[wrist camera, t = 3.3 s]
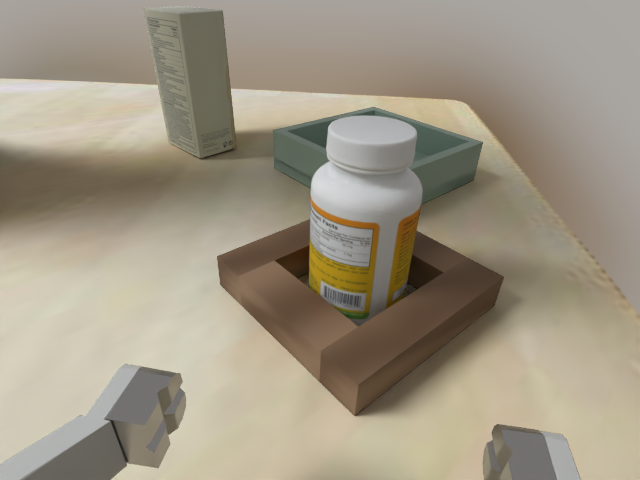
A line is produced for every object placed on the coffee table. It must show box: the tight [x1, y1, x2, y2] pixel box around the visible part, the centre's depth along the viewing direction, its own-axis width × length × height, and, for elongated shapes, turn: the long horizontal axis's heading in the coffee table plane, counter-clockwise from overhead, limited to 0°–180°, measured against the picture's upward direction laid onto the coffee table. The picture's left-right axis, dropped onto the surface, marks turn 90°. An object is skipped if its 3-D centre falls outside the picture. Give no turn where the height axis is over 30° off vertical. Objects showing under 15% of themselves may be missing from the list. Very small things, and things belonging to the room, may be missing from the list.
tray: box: [274, 107, 483, 204], centre depth 37 cm, size 13×13×4 cm
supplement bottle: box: [309, 116, 423, 326], centre depth 22 cm, size 5×5×10 cm
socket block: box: [217, 220, 504, 416], centre depth 24 cm, size 11×11×2 cm
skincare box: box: [143, 6, 236, 158], centre depth 39 cm, size 6×4×12 cm
